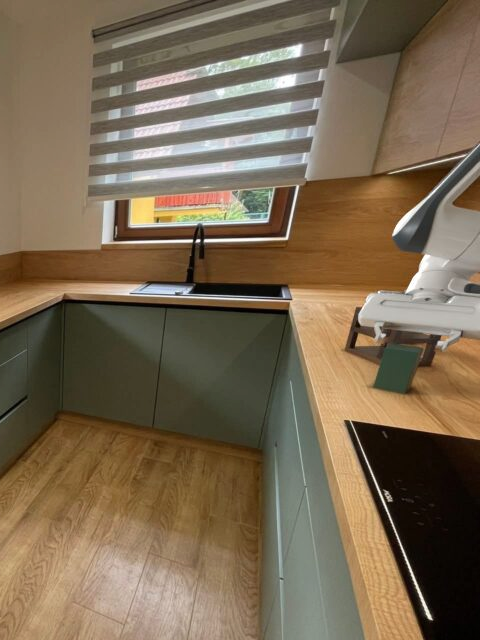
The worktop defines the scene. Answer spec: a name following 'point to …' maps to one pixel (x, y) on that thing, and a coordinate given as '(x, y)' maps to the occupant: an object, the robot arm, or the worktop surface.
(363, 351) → the rack
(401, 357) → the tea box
